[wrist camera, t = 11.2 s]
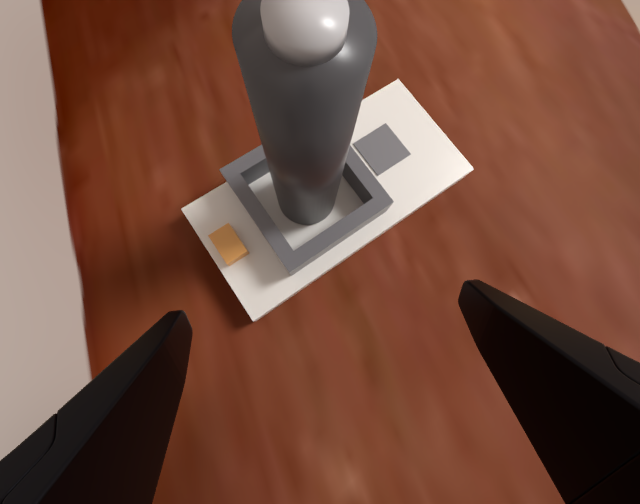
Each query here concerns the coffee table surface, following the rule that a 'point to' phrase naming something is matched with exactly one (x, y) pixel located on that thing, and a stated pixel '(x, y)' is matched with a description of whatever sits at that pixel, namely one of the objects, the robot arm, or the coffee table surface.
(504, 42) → the coffee table surface
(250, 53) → the joystick
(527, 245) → the coffee table surface
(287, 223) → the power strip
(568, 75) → the coffee table surface
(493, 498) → the coffee table surface
